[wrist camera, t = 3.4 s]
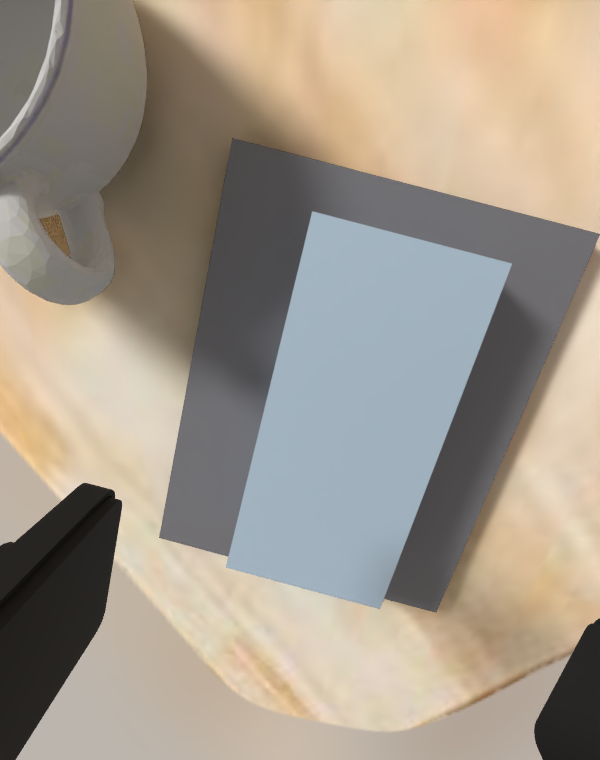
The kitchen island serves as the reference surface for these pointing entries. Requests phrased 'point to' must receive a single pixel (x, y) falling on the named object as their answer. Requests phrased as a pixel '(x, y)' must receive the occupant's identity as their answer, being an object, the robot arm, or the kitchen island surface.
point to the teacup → (65, 136)
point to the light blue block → (359, 405)
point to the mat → (267, 320)
